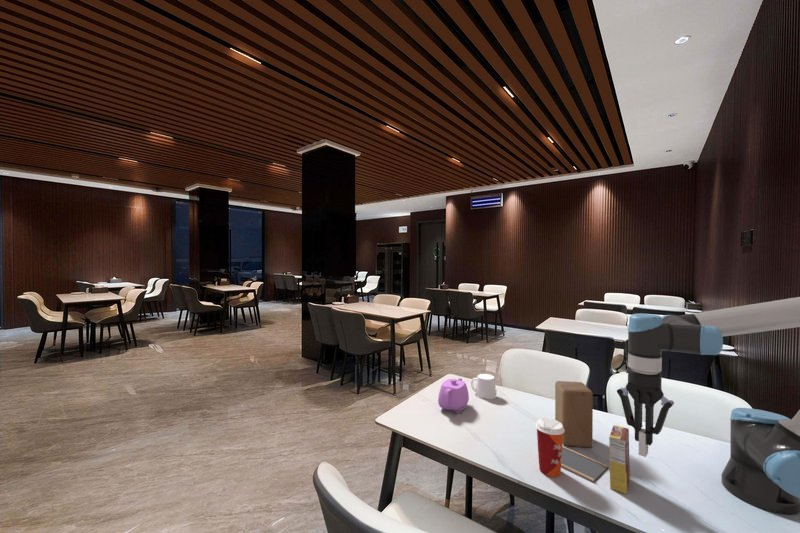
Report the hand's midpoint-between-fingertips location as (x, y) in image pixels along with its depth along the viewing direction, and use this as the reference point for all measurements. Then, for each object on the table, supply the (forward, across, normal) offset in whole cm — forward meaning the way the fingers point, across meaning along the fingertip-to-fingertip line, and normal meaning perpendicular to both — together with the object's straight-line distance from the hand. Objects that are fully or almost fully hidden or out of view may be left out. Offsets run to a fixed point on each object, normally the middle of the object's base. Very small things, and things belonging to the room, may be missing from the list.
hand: (643, 453), depth 93 cm
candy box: (+12, +6, 0) cm, 13 cm away
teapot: (+12, +71, 0) cm, 72 cm away
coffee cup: (+12, +22, +10) cm, 27 cm away
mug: (+12, +71, -21) cm, 75 cm away
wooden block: (+12, +25, -14) cm, 31 cm away
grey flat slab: (+12, +19, 0) cm, 22 cm away
